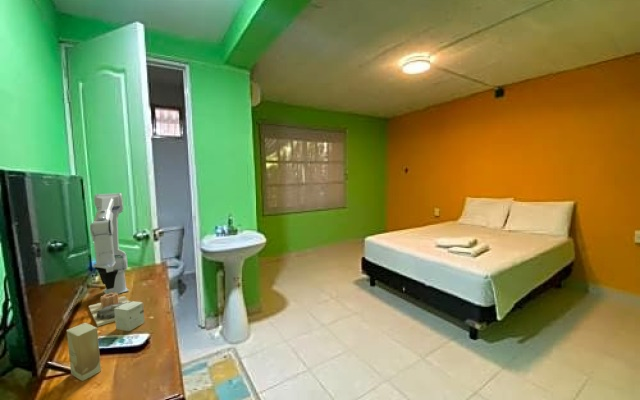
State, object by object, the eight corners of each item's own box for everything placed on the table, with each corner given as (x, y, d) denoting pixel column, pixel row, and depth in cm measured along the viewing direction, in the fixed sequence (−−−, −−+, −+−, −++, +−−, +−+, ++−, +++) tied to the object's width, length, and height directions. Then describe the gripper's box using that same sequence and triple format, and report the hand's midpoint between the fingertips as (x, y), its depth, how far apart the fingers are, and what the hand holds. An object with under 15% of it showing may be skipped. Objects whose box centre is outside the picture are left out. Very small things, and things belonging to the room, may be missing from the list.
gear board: (88, 308, 113) (87, 297, 112) (125, 298, 121) (124, 287, 121) (97, 326, 99) (96, 314, 98) (137, 313, 107) (136, 302, 107)
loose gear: (100, 305, 113) (99, 295, 112) (117, 300, 116) (116, 291, 116) (103, 309, 109) (101, 299, 108) (120, 304, 113) (119, 295, 112)
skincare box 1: (70, 374, 75) (64, 329, 74) (89, 364, 79) (85, 321, 78) (82, 382, 72) (77, 335, 71) (102, 371, 76) (97, 327, 75)
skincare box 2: (129, 331, 95) (127, 310, 94) (115, 329, 97) (113, 308, 96) (145, 322, 101) (143, 302, 100) (132, 320, 102) (130, 300, 102)
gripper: (88, 250, 113) (92, 284, 114) (94, 257, 102) (98, 294, 104) (110, 246, 118) (113, 279, 119) (118, 253, 107) (121, 288, 109)
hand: (108, 285), depth 112 cm, fingers open, 7 cm apart
